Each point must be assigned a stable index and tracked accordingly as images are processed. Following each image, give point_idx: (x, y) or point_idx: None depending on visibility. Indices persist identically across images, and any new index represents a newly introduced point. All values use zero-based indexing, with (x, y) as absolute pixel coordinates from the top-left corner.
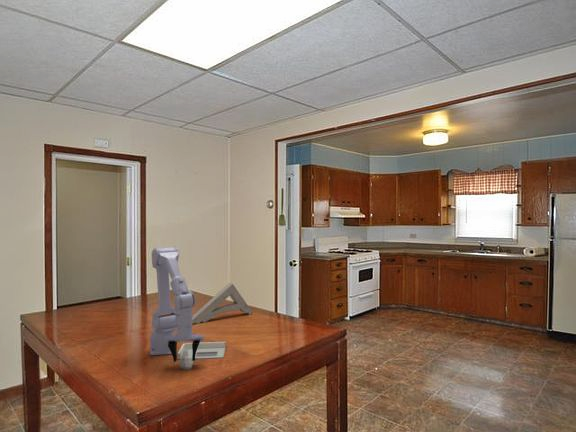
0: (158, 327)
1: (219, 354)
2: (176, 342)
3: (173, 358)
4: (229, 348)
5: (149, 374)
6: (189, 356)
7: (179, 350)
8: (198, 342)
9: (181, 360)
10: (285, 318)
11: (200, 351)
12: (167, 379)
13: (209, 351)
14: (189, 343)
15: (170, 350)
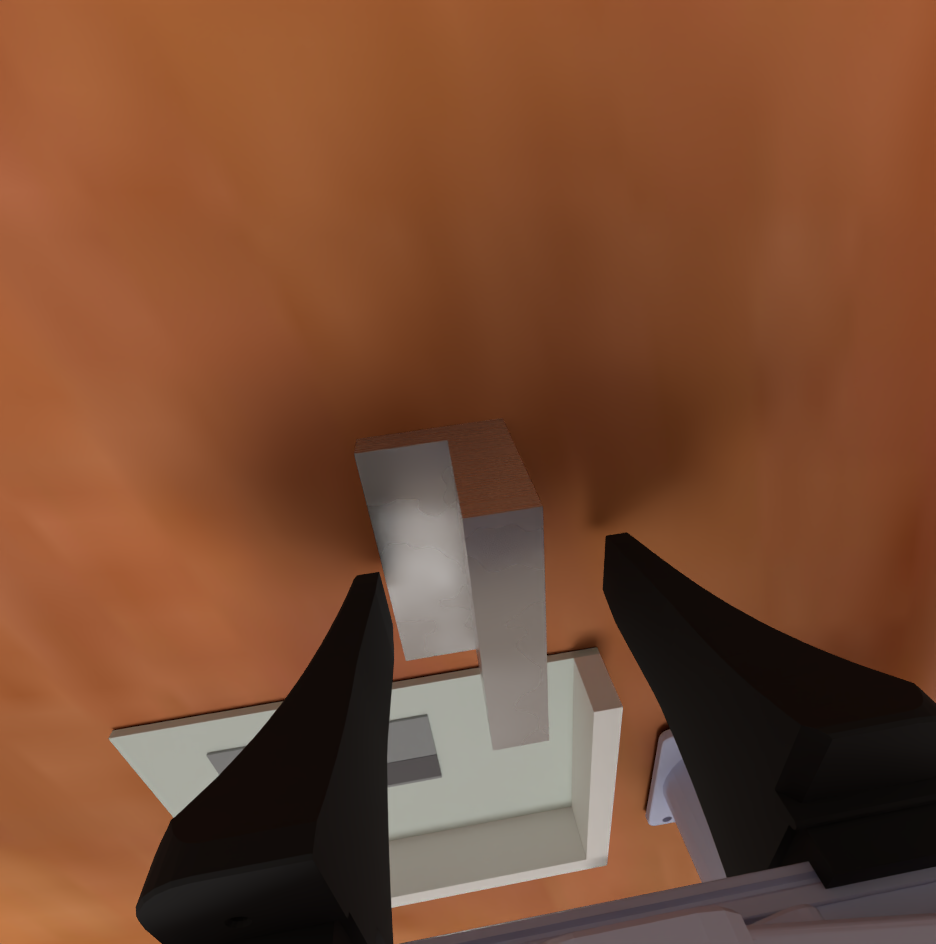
0: None
1: (192, 775)
2: (736, 853)
3: (655, 554)
4: None
5: (891, 260)
6: None
7: (614, 761)
8: (175, 935)
9: (512, 487)
10: None
11: (419, 794)
12: (621, 36)
13: None
14: (548, 870)
15: (790, 637)
